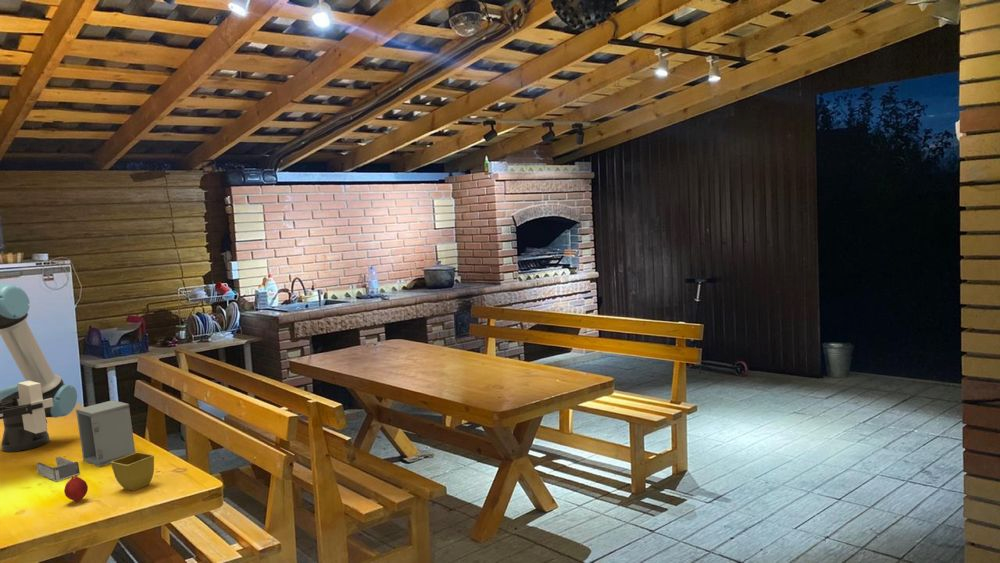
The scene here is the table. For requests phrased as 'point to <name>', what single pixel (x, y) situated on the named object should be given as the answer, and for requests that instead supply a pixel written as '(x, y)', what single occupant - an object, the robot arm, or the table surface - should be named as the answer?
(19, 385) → the door
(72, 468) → the drawer
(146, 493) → the table surface
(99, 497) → the table surface
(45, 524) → the table surface
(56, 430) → the table surface
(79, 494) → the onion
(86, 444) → the cabinet
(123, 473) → the flower pot
